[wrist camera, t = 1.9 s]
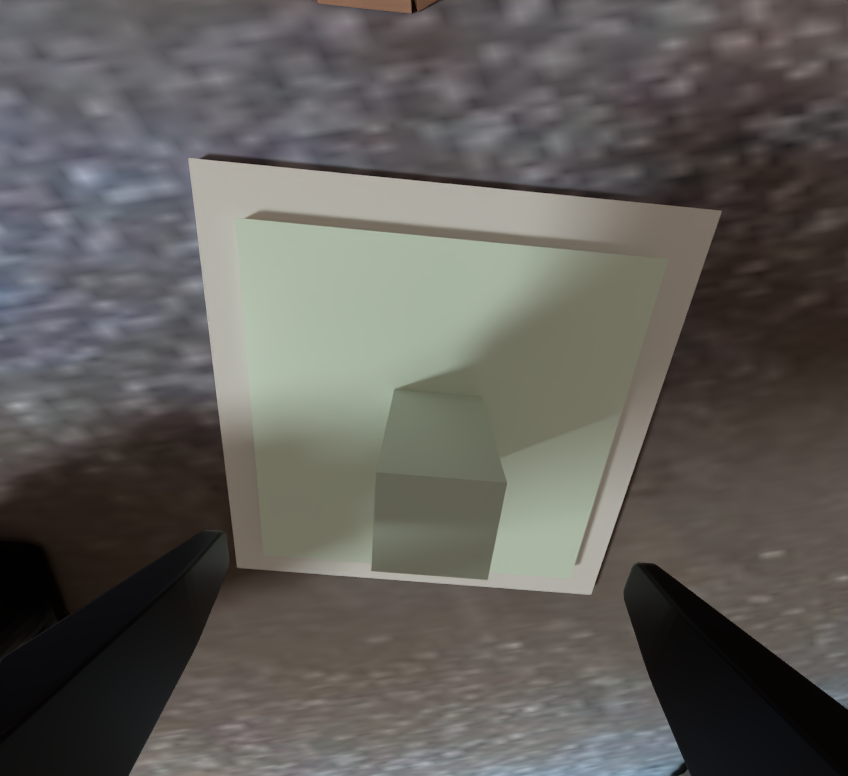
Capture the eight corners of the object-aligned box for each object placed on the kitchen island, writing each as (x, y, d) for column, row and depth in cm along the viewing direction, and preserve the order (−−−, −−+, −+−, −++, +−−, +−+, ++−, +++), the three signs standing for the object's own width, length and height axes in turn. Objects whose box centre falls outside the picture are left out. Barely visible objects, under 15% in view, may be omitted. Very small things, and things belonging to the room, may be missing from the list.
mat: (587, 587, 18) (590, 594, 18) (241, 560, 18) (237, 567, 17) (712, 211, 12) (722, 210, 12) (195, 160, 12) (188, 158, 12)
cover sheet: (565, 567, 17) (624, 712, 12) (268, 544, 17) (198, 683, 12) (657, 257, 12) (823, 277, 7) (244, 218, 12) (105, 209, 7)
